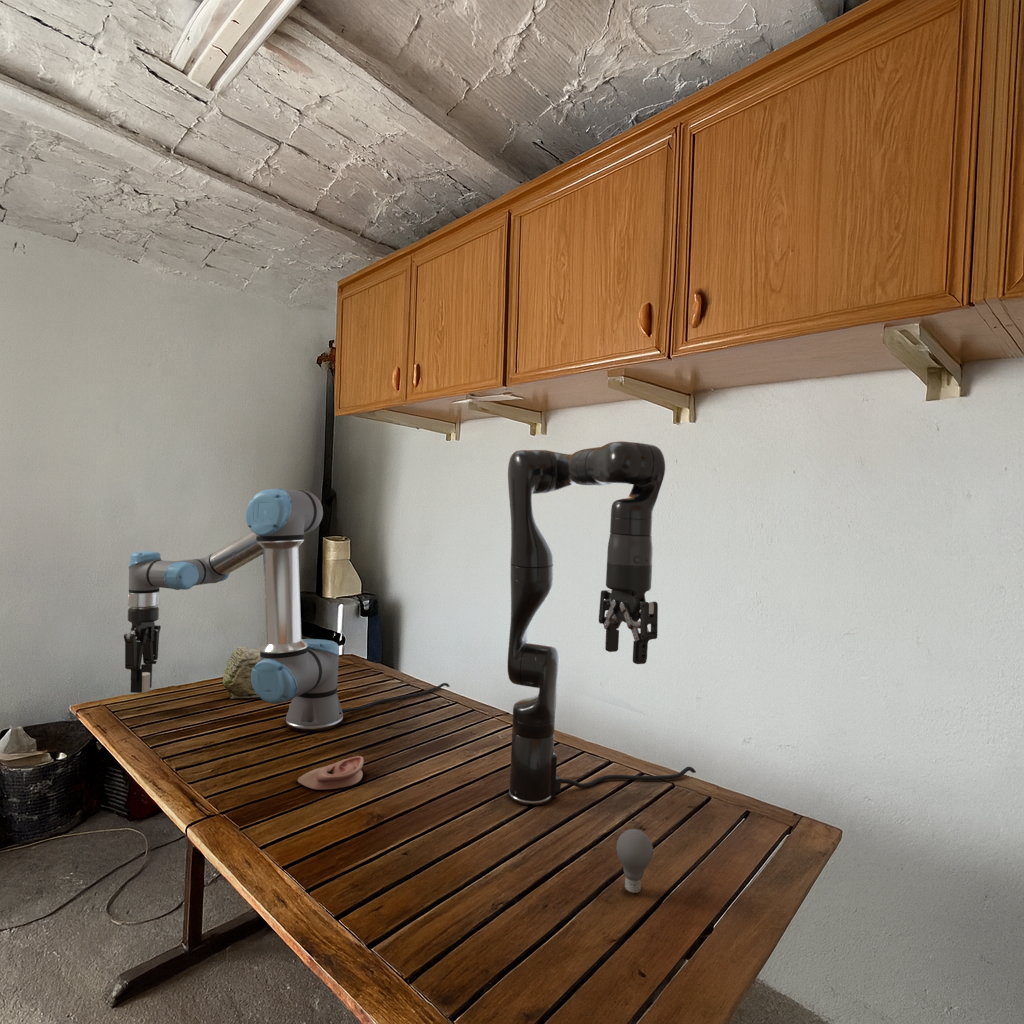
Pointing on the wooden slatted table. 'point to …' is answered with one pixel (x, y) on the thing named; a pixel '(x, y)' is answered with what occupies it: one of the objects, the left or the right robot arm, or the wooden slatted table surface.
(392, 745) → the wooden slatted table surface
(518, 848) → the wooden slatted table surface
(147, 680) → the canister
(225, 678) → the fossil
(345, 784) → the anatomical model
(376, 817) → the wooden slatted table surface
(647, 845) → the light bulb
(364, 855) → the wooden slatted table surface
